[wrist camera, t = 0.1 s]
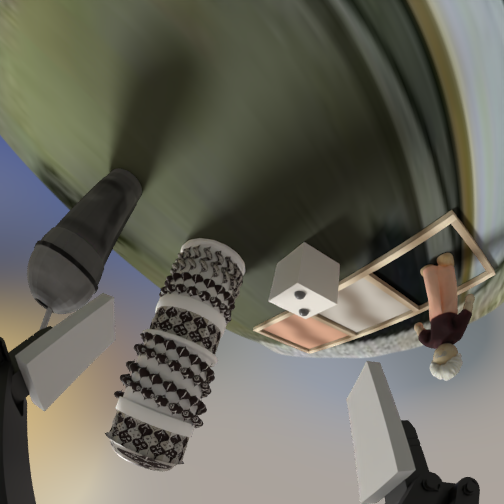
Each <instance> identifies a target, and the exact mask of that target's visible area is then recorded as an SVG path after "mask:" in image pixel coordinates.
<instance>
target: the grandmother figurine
mask: <svg viewBox="0 0 504 504" xmlns="http://www.w3.org/2000/svg"><path fill="white" fill-rule="evenodd" d="M437 263H438V266H434V265H426V266H424V267H423V268H422V269H421V271H420V272H421V274H422V276H423V277H424V281H425V286H426V291H427V295H428V301H429V316H430V323H431V330H426V329H425V328H423V324H422V323H416V324H415V326H414V329H415V331H416V332H417V335H418V337H419V338H418V339H419V341H420V342H421V343H422V344H423V345H425V346H427V347H429V348H434V349H436V350H435V353H434V356H433V361H432V362H431V365H430V371H431V373H432V375H433V376H434V377H437V378H438V379H444V380H445V381H447V380H449V379H451V378H452V377H455V375H457V373H458V372H459V371H460V368H461V365H462V360H461V354H460V353H458V351H457V348H456V347H455V346H454V345H453V344H455V343H456V342H457V341H459V340H460V339H461V338H462V336H463V334H464V332H465V330H466V328H467V325H468V323H469V321H470V318H471V316H472V309H473V303H474V300H475V297H474V295H473V294H468V295H467V296H466V299H465V300H466V302H465V304H464V307H463V310H462V311H461V313H459V314H458V315H457V313H458V309H457V282H456V277H455V271H454V267H453V266H454V259H453V256H452V254H450V253H444V254H442V255H440V256H439V257H438V258H437Z"/></svg>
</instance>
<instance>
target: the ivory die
mask: <svg viewBox="0 0 504 504" xmlns="http://www.w3.org/2000/svg"><path fill="white" fill-rule="evenodd" d="M339 271H340V264H339V263H337V262H335V261H334V260H332V259H331V258H329V257H328V256H326V255H324V254H323V253H321V252H320V251H318V250H316V249H315V248H313V247H312V246H310V245H308V244H307V243H305V242H303V243H302V244H301V245H300V246H298V247H297V248H296V249H295V250H293V251H292V252H291V253H289V254H288V255H287V256H286V257H284V258H283V259H282V260H281V261H279V262H278V263H277V266H276V270H275V274H274V279H273V283H272V287H271V292H270V296H269V300H268V301H269V302H271V303H273V304H275V305H277V306H279V307H281V308H283V309H285V310H287V311H289V312H292V313H294V314H296V315H298V316H300V317H302V318H304V319H307V318H309V317H312V316H314V315H316V314H318V313H320V312H322V311H324V310H326V309H329V308H331V307H333V306H335V305H337V300H338V287H339Z"/></svg>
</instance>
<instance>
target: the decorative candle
mask: <svg viewBox="0 0 504 504" xmlns="http://www.w3.org/2000/svg"><path fill="white" fill-rule="evenodd" d="M178 257H179V258H177V259H176V260H175V261H176V263H173V264H172V266H173V268H172V269H171V270H170V272H171V274H172V276H167V278H166V281H165V286H166V287H162V288H161V292H160V294H159V296H160V300H159V302H158V304H157V306H156V312H155V313H156V314H155V317H154V318H153V319H152V322H151V326H150V329H147V330H144V331H143V332H142V334H140V335H141V338H142V339H143V341H145V342H144V344H143V345H142V344H136V345H135V346H134V349H135V351H136V352H137V354H138V355H139V356H138V359H137V361H136V363H134V362H135V361H128V362H126V366H127V368H128V369H129V371H132V374H131V376H130V374H124V375H121V376H120V380H121V381H122V382H123V384H125V386H126V390H125V392H122V391H116V392H115V393H114V395H115V397H117V398H119V400H118V403H117V406H116V409H117V413H116V416H115V418H114V420H113V422H112V428H111V430H110V432H109V433H108V432H107V433H105V434H106V436H107V437H108V438H109V439H110V441H111V446H112V448H113V450H114V451H115V453H116V454H117V455H119V456H120V457H122V458H123V459H125V460H127V461H129V462H131V463H133V464H135V465H138V466H140V467H143V468H147V469H150V470H154V471H168V470H170V469H172V468H173V467H174V466H175V465H177V464H184V463H183V461H182V459H183V455H184V453H185V450H186V447H187V442H188V440H189V437H192V434H193V430H194V428H199V427H201V426H202V425H203V422H202V420H201V419H200V418H199V417H198V416H197V415H201V414H202V413H205V412H206V411H207V409H206V406H205V405H204V403H203V402H202V401H200V398H203V397H207V395H209V394H210V393H211V389H210V386H209V383H210V382H211V381H213V380H214V379H215V377H214V371H213V370H211V369H210V367H213V366H215V365H216V364H217V362H218V360H217V358H216V356H215V352H216V350H217V347H218V344H219V340H220V338H221V337H222V335H223V333H224V330H225V327H226V325H227V324H228V322H230V321H231V310H233V309H234V308H235V305H234V303H235V299H236V298H237V297H238V296H239V293H240V291H239V287H240V286H241V285H242V283H243V279H242V278H243V275H244V273H245V271H246V270H245V263H244V261H243V260H242V258H241V257H240V255H239V254H238V253H237V252H235V251H234V250H233V249H231V248H230V247H229V246H227V245H225V244H223V243H220V242H218V241H215V240H211V239H204V238H197V239H191V240H188V241H187V242H186V243H185V244H183V245H182V248H181V252H180V253H178Z"/></svg>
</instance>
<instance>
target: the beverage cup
mask: <svg viewBox="0 0 504 504" xmlns="http://www.w3.org/2000/svg"><path fill="white" fill-rule="evenodd" d="M141 195H142V187H141V184H140V183H139V181H138V179H137V178H136V177H135V176H134V175H133V174H131V173H130V172H129V171H126V170H124V169H114V170H112V171H111V172H110V173H109V174H108V175H107V176H106V177H104V178H103V179H102V180H100V181H99V182H98V183H97V184H96V185H95V186H94V187H93V188H92V189H91V190H90V191H89V192H88V193H87V194H86V195H85V196H84V197H83V198H82V199H81V200H80V201H79V202H78V203H77V204H76V205H75V206H74V207H73V208H72V209H71V210H70V211H69V212H68V213H67V215H66V216H65V217H64V218H63V219H62V220H61V221H60V222H59V223H58V224H57V226H56V227H54V228H52V229H51V230H50V231H49V232H48V233H47V234H45V235H44V237H43V238H42V240H41V241H38V242H37V243H36V245H35V247H34V251H33V252H32V254H31V257H30V259H29V263H28V268H27V269H28V270H27V278H28V284H29V288H30V291H31V293H32V295H33V297H34V299H35V300H36V301H37V302H38V303H39V304H40V305H41V306H43V307H44V308H46V309H47V311H46V314H45V316H44V319H43V322H42V325H41V327H40V330H41V329H43V328H46V327H47V324H48V322H49V319H50V316H51V314H52V312H53V313H57V314H66V313H71V312H74V311H77V310H78V309H80V308H82V307H83V306H84V305H85V304H86V303H87V302H88V301H89V300H90V298H91V297H92V295H93V294H95V293H96V291H97V289H98V284H99V281H100V279H101V276H102V273H103V270H104V265H105V263H106V261H107V259H108V257H109V255H110V253H111V251H112V249H113V247H114V245H115V243H116V241H117V239H118V237H119V235H120V234H121V232H122V230H123V228H124V226H125V224H126V223H127V221H128V219H129V217H130V215H131V214H132V212H133V210H134V208H135V206H136V204H137V202H138V200H139V198H140V197H141Z"/></svg>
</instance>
